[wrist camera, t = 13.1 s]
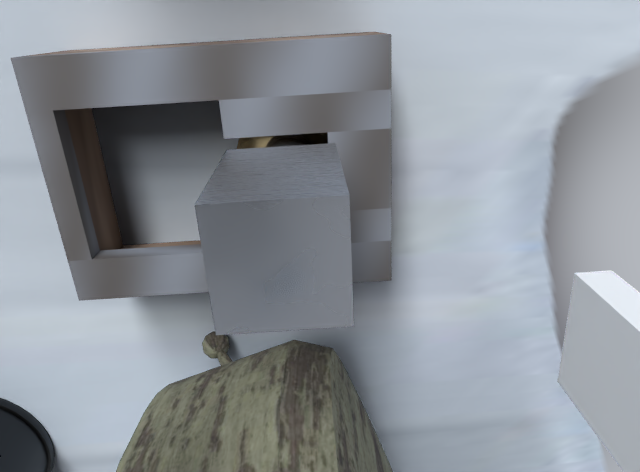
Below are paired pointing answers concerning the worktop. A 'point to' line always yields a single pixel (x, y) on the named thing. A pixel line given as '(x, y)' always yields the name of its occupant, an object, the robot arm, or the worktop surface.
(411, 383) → the worktop surface
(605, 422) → the robot arm
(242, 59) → the keyhole block
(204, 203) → the headed peg
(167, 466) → the tabletop clock
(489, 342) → the worktop surface
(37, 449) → the french press
